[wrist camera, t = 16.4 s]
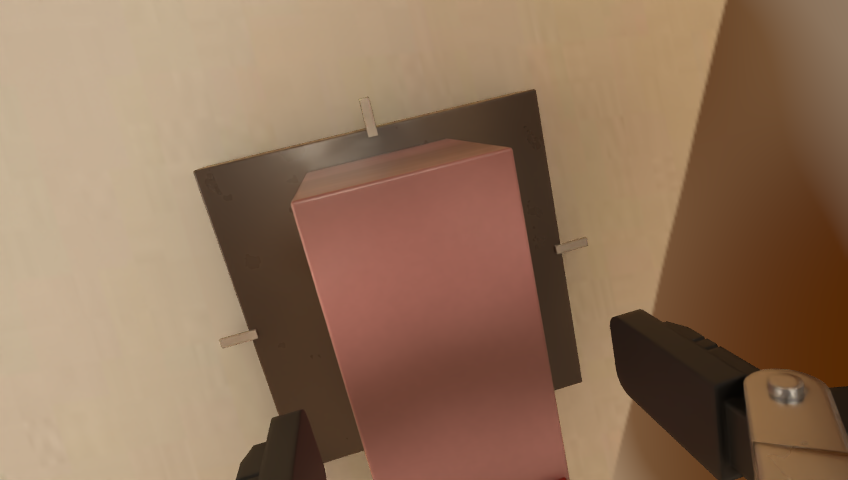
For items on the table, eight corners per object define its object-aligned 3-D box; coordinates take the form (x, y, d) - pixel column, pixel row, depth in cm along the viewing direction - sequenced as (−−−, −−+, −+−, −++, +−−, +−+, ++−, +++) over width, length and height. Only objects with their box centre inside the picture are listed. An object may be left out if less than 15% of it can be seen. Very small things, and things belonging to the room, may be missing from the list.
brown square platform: (537, 59, 21) (560, 52, 19) (586, 374, 25) (610, 397, 23) (167, 144, 19) (147, 148, 17) (284, 469, 23) (279, 503, 21)
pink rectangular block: (305, 172, 18) (288, 203, 11) (449, 138, 19) (517, 146, 12) (378, 425, 21) (400, 575, 14) (500, 388, 22) (579, 513, 15)
